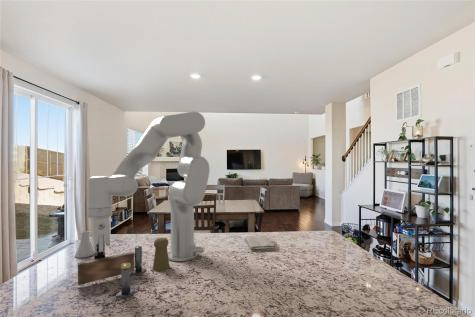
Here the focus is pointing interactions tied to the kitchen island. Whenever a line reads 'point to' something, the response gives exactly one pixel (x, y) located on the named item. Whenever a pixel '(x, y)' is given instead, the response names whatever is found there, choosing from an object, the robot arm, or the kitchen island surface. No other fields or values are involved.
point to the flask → (84, 246)
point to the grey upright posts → (125, 274)
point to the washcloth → (260, 243)
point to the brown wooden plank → (103, 267)
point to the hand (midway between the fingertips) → (99, 265)
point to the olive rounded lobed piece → (161, 255)
